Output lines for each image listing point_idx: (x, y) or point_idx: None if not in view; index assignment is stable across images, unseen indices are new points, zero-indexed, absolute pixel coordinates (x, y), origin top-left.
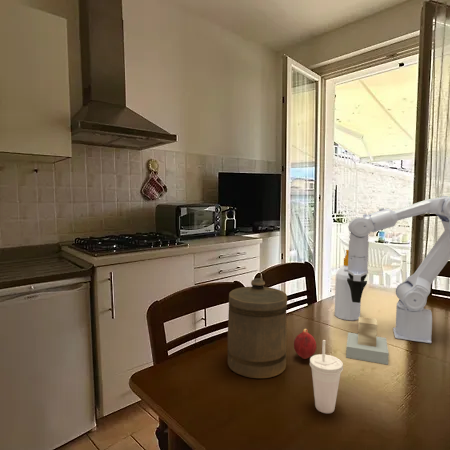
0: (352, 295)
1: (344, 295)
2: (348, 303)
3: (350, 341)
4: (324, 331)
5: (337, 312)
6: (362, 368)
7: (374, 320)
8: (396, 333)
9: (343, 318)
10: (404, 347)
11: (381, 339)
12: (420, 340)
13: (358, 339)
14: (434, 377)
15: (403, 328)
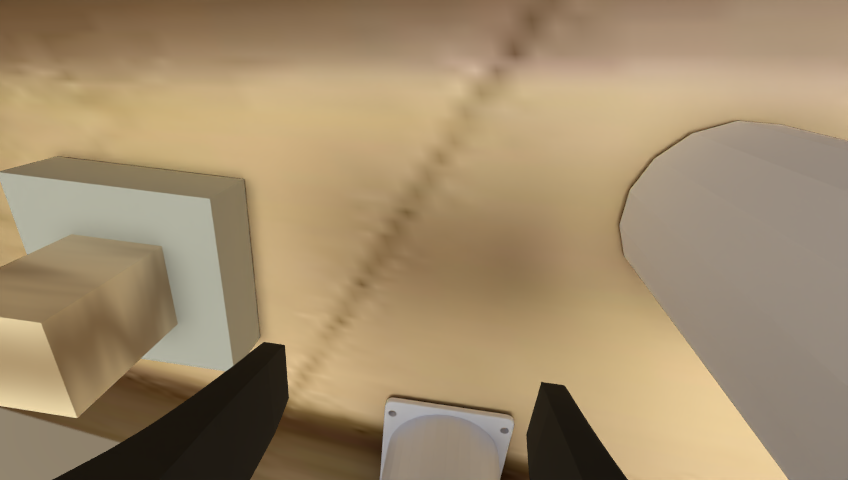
0: (207, 396)
1: (741, 279)
2: (675, 275)
3: (78, 200)
4: (359, 32)
5: (698, 149)
6: (5, 216)
7: (38, 402)
8: (431, 415)
9: (634, 185)
10: (305, 403)
11: (203, 350)
12: (381, 471)
13: (46, 248)
14: (105, 419)
15: (389, 465)
